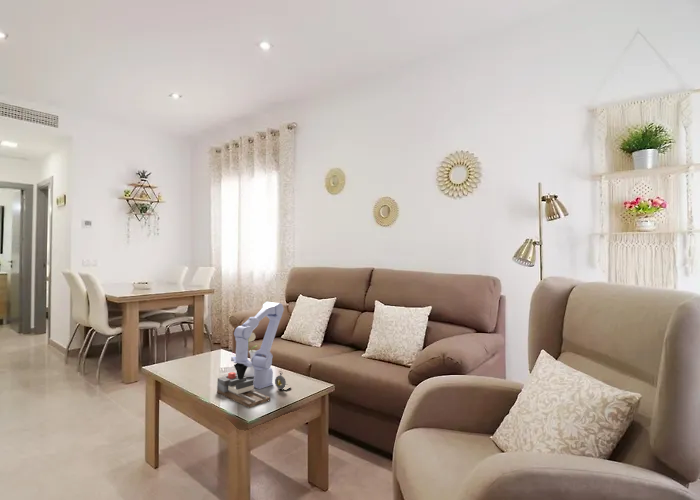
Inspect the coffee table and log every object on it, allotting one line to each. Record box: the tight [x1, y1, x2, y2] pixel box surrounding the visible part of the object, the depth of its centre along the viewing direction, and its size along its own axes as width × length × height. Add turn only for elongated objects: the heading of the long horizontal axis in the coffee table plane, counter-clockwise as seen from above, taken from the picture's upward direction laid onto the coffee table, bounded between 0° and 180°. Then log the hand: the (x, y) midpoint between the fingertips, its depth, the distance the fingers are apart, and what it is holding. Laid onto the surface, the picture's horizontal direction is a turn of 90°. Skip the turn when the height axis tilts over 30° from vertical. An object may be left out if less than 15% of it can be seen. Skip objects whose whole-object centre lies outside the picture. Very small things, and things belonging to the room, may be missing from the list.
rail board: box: [216, 373, 271, 408], centre depth 182 cm, size 12×26×7 cm, turn 51°
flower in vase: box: [244, 332, 258, 378], centre depth 213 cm, size 13×11×25 cm
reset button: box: [227, 371, 237, 379], centre depth 188 cm, size 4×4×4 cm
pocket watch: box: [274, 370, 290, 390], centre depth 194 cm, size 8×8×10 cm
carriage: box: [228, 376, 255, 394], centre depth 183 cm, size 9×8×4 cm
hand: (240, 378), depth 184 cm, fingers closed
